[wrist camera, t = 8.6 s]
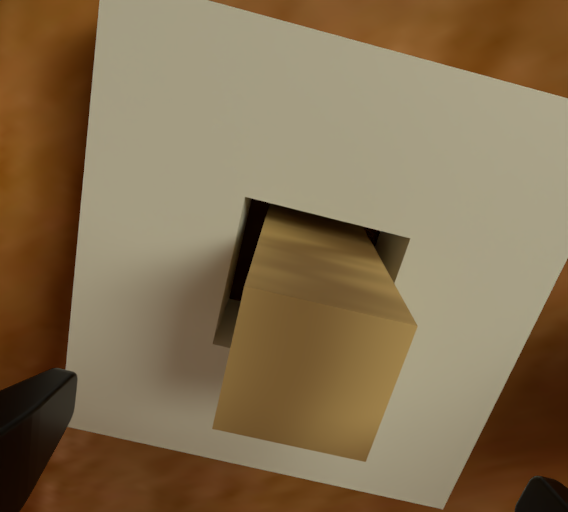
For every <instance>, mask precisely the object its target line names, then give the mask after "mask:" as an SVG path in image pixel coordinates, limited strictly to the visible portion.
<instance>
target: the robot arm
mask: <svg viewBox="0 0 568 512" xmlns="http://www.w3.org/2000/svg"><path fill="white" fill-rule="evenodd" d="M77 381H78V378H77V374H76V373H75V372H73V371H69V370H64V369H60V368H52V369H50V370H47V371H45V372H43V373H40V374H38V375H36V376H33V377H31V378H29V379H26V380H24V381H22V382H19V383H17V384H15V385H12V386H10V387H7V388H5V389H3V390H0V512H20V510H21V508H22V507H23V505H24V504H25V502H26V501H27V499H28V497H29V496H30V494H31V492H32V490H33V489H34V487H35V485H36V483H37V481H38V479H39V478H40V476H41V474H42V472H43V470H44V468H45V467H46V465H47V463H48V461H49V459H50V457H51V456H52V454H53V452H54V450H55V448H56V446H57V445H58V443H59V441H60V439H61V437H62V435H63V434H64V432H65V430H66V428H67V426H68V424H69V422H70V420H71V418H72V416H73V413H74V409H75V400H76V391H77ZM515 512H568V488H567V487H565V486H564V485H563V484H561V483H560V482H559V481H557V480H555V479H551V478H546V477H542V476H534V477H533V478H531V479H530V481H529V482H528V484H527V486H526V488H525V489H524V491H523V493H522V495H521V496H520V498H519V500H518V502H517V504H516V506H515Z"/></svg>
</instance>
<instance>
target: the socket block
mask: <svg viewBox="0 0 568 512" xmlns="http://www.w3.org/2000/svg"><path fill="white" fill-rule="evenodd" d="M252 199H256V200H260V201H264V202H268V203H272V204H276V205H280V206H284V207H288V208H292V209H296V210H300V211H303V212H307V213H311V214H315V215H319V216H323V217H327V218H331V219H335V220H339V221H343V222H347V223H351V224H355V225H359V226H363V227H367V228H371V229H375V230H379V231H380V233H379V236H378V239H377V242H376V245H375V250H376V251H377V253H378V255H379V257H380V259H381V260H382V262H383V264H384V266H385V268H386V269H387V271H388V273H389V275H390V277H391V279H392V280H393V282H394V284H395V286H396V288H397V289H398V291H399V293H400V295H401V297H402V298H403V300H404V302H405V304H406V306H407V308H408V309H409V311H410V313H411V315H412V317H413V318H414V320H415V322H416V324H417V326H418V327H417V330H416V332H415V335H414V337H413V340H412V343H411V345H410V348H409V351H408V353H407V356H406V358H405V361H404V364H403V366H402V369H401V371H400V374H399V377H398V379H397V382H396V384H395V387H394V390H393V392H392V395H391V397H390V400H389V403H388V405H387V408H386V410H385V413H384V416H383V418H382V421H381V423H380V426H379V429H378V431H377V434H376V437H375V439H374V442H373V444H372V447H371V450H370V452H369V455H368V457H367V460H366V462H363V461H359V460H354V459H349V458H345V457H340V456H335V455H331V454H326V453H322V452H317V451H312V450H308V449H303V448H298V447H294V446H289V445H285V444H280V443H275V442H271V441H266V440H261V439H257V438H252V437H248V436H243V435H238V434H234V433H229V432H224V431H220V430H215V429H212V427H213V422H214V418H215V413H216V409H217V405H218V400H219V396H220V391H221V387H222V382H223V378H224V374H225V369H226V365H227V360H228V356H229V351H230V347H231V343H232V338H233V334H234V329H235V325H236V320H237V316H238V312H239V307H240V303H241V301H238V300H234V299H230V298H229V297H230V293H231V289H232V284H233V280H234V275H235V271H236V266H237V262H238V258H239V253H240V249H241V244H242V240H243V236H244V231H245V227H246V222H247V218H248V213H249V209H250V205H251V200H252ZM567 258H568V98H564V97H560V96H557V95H553V94H549V93H546V92H542V91H538V90H535V89H531V88H527V87H524V86H520V85H516V84H513V83H509V82H505V81H502V80H498V79H494V78H491V77H487V76H483V75H480V74H476V73H472V72H469V71H465V70H461V69H458V68H454V67H450V66H447V65H443V64H439V63H436V62H432V61H428V60H425V59H421V58H417V57H414V56H410V55H406V54H403V53H399V52H395V51H392V50H388V49H384V48H381V47H377V46H373V45H370V44H366V43H362V42H359V41H355V40H351V39H348V38H344V37H340V36H337V35H333V34H329V33H326V32H322V31H318V30H315V29H311V28H307V27H304V26H300V25H296V24H293V23H289V22H285V21H282V20H278V19H274V18H271V17H267V16H263V15H260V14H256V13H252V12H249V11H245V10H241V9H238V8H234V7H230V6H227V5H223V4H219V3H216V2H212V1H208V0H100V2H99V13H98V24H97V35H96V46H95V56H94V67H93V78H92V89H91V100H90V110H89V121H88V132H87V143H86V154H85V165H84V175H83V186H82V197H81V208H80V219H79V229H78V240H77V251H76V262H75V273H74V283H73V294H72V305H71V316H70V327H69V337H68V348H67V359H66V370H69V371H73V372H75V373H76V374H77V378H78V381H77V391H76V400H75V409H74V413H73V416H72V418H71V420H70V422H69V424H68V426H67V427H70V428H75V429H80V430H84V431H89V432H93V433H98V434H102V435H107V436H111V437H116V438H120V439H125V440H130V441H134V442H139V443H143V444H148V445H152V446H157V447H161V448H166V449H171V450H175V451H180V452H184V453H189V454H193V455H198V456H202V457H207V458H211V459H216V460H221V461H225V462H230V463H234V464H239V465H243V466H248V467H252V468H257V469H262V470H266V471H271V472H275V473H280V474H284V475H289V476H293V477H298V478H302V479H307V480H312V481H316V482H321V483H325V484H330V485H334V486H339V487H343V488H348V489H352V490H357V491H362V492H366V493H371V494H375V495H380V496H384V497H389V498H393V499H398V500H403V501H407V502H412V503H416V504H421V505H425V506H430V507H434V508H439V509H443V508H444V506H445V504H446V502H447V500H448V498H449V496H450V494H451V492H452V490H453V488H454V486H455V484H456V482H457V480H458V478H459V476H460V474H461V472H462V470H463V468H464V466H465V464H466V462H467V460H468V458H469V456H470V454H471V452H472V450H473V448H474V446H475V444H476V442H477V440H478V438H479V436H480V434H481V432H482V430H483V428H484V426H485V423H486V421H487V419H488V417H489V415H490V413H491V411H492V409H493V407H494V405H495V403H496V401H497V399H498V397H499V395H500V393H501V391H502V389H503V387H504V385H505V383H506V381H507V379H508V377H509V375H510V373H511V371H512V369H513V367H514V365H515V363H516V361H517V359H518V357H519V355H520V353H521V351H522V349H523V347H524V345H525V343H526V341H527V339H528V337H529V335H530V333H531V331H532V329H533V327H534V325H535V323H536V321H537V319H538V317H539V315H540V313H541V311H542V309H543V307H544V305H545V303H546V301H547V298H548V296H549V294H550V292H551V290H552V288H553V286H554V284H555V282H556V280H557V278H558V276H559V274H560V272H561V270H562V268H563V266H564V264H565V262H566V260H567Z"/></svg>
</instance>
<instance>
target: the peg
mask: <svg viewBox="0 0 568 512" xmlns="http://www.w3.org/2000/svg"><path fill="white" fill-rule="evenodd" d="M417 327H418V326H417V324H416V322H415V320H414V318H413V317H412V315H411V313H410V311H409V309H408V308H407V306H406V304H405V302H404V300H403V298H402V297H401V295H400V293H399V291H398V289H397V288H396V286H395V284H394V282H393V280H392V279H391V277H390V275H389V273H388V271H387V269H386V268H385V266H384V264H383V262H382V260H381V259H380V257H379V255H378V253H377V251H376V250H375V248H374V246H373V244H372V242H371V240H370V239H369V237H368V235H367V233H366V231H365V230H364V228H363V226H359V225H355V224H351V223H347V222H343V221H339V220H335V219H331V218H327V217H323V216H319V215H315V214H311V213H307V212H303V211H300V210H296V209H292V208H288V207H284V206H280V205H276V204H272V203H270V205H269V208H268V211H267V214H266V217H265V221H264V224H263V227H262V230H261V234H260V237H259V240H258V243H257V247H256V250H255V253H254V256H253V259H252V263H251V266H250V269H249V272H248V276H247V279H246V282H245V285H244V289H243V294H242V298H241V303H240V307H239V312H238V316H237V320H236V325H235V329H234V334H233V338H232V343H231V347H230V351H229V356H228V360H227V365H226V369H225V374H224V378H223V382H222V387H221V391H220V396H219V400H218V405H217V409H216V413H215V418H214V422H213V427H212V429H215V430H220V431H224V432H229V433H234V434H238V435H243V436H248V437H252V438H257V439H261V440H266V441H271V442H275V443H280V444H285V445H289V446H294V447H298V448H303V449H308V450H312V451H317V452H322V453H326V454H331V455H335V456H340V457H345V458H349V459H354V460H359V461H363V462H366V460H367V457H368V455H369V452H370V450H371V447H372V444H373V442H374V439H375V437H376V434H377V431H378V429H379V426H380V423H381V421H382V418H383V416H384V413H385V410H386V408H387V405H388V403H389V400H390V397H391V395H392V392H393V390H394V387H395V384H396V382H397V379H398V377H399V374H400V371H401V369H402V366H403V364H404V361H405V358H406V356H407V353H408V351H409V348H410V345H411V343H412V340H413V337H414V335H415V332H416V330H417Z"/></svg>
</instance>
